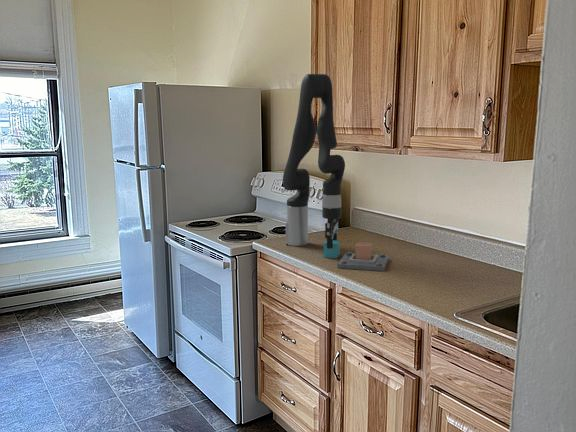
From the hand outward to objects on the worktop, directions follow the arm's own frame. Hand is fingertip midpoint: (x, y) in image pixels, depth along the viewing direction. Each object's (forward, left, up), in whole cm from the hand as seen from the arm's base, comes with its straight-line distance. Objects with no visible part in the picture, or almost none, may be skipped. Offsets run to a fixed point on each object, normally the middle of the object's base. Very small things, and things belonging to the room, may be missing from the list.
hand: (332, 246), depth 212 cm
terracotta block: (+14, -7, -3) cm, 16 cm away
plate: (+14, -7, -4) cm, 16 cm away
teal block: (0, +1, -4) cm, 4 cm away
